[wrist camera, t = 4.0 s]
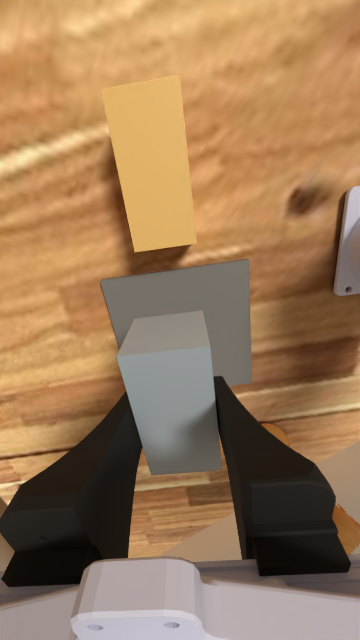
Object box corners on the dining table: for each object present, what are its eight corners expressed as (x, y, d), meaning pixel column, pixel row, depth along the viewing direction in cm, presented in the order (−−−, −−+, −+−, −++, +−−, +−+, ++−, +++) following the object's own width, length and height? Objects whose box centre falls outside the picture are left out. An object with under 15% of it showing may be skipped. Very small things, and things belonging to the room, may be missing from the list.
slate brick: (202, 310, 13) (210, 346, 9) (213, 413, 16) (222, 470, 13) (134, 318, 13) (116, 356, 10) (158, 418, 17) (151, 475, 13)
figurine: (222, 425, 26) (251, 579, 15) (254, 388, 24) (315, 535, 13) (280, 451, 27) (346, 607, 16) (315, 418, 25) (419, 573, 14)
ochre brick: (180, 110, 15) (179, 74, 11) (193, 238, 18) (197, 243, 14) (120, 120, 15) (100, 89, 12) (144, 245, 18) (134, 252, 15)
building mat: (246, 258, 18) (248, 259, 18) (249, 379, 23) (251, 383, 23) (102, 279, 19) (100, 280, 19) (133, 391, 24) (132, 395, 23)
